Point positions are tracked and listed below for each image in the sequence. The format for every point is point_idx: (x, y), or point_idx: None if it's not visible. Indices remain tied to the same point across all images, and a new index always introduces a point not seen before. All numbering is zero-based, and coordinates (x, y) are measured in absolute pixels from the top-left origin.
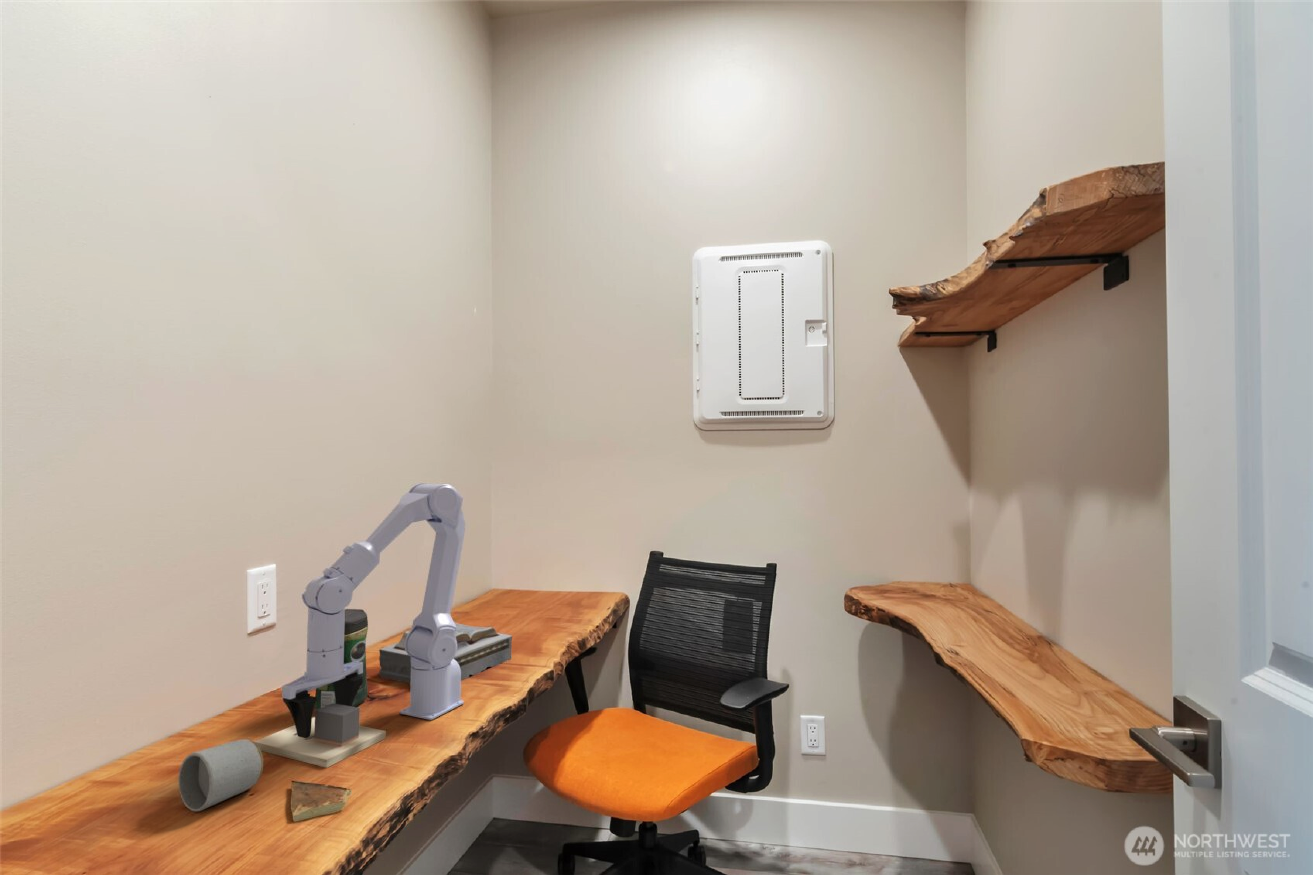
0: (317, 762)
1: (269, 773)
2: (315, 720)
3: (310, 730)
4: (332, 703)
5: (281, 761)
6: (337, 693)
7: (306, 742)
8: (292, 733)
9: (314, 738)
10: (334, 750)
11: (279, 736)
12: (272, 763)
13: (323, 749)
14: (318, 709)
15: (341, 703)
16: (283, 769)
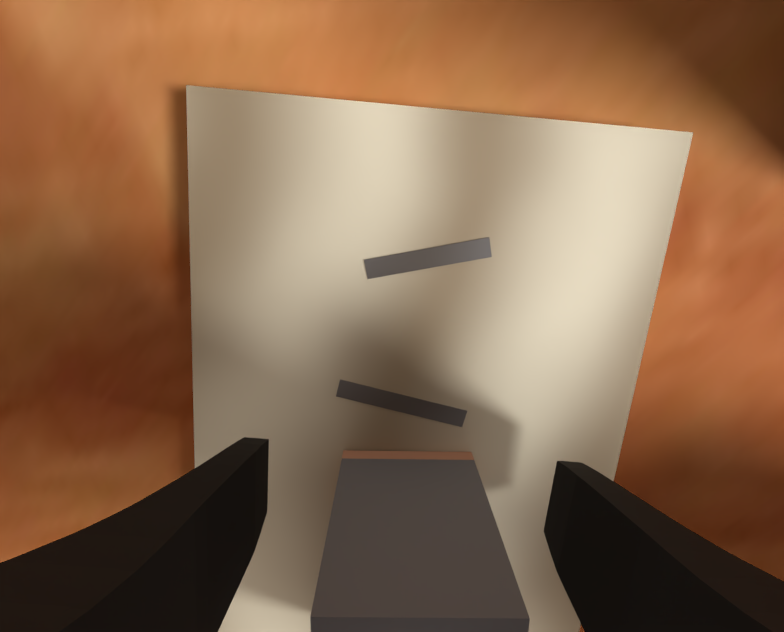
0: None
1: (59, 447)
2: (326, 545)
3: (250, 552)
4: (520, 628)
5: (170, 396)
6: (699, 628)
7: (312, 424)
8: (386, 230)
9: (342, 458)
10: (291, 624)
11: (316, 187)
12: (134, 372)
13: (280, 569)
14: (345, 621)
15: (620, 591)
16: (117, 473)
